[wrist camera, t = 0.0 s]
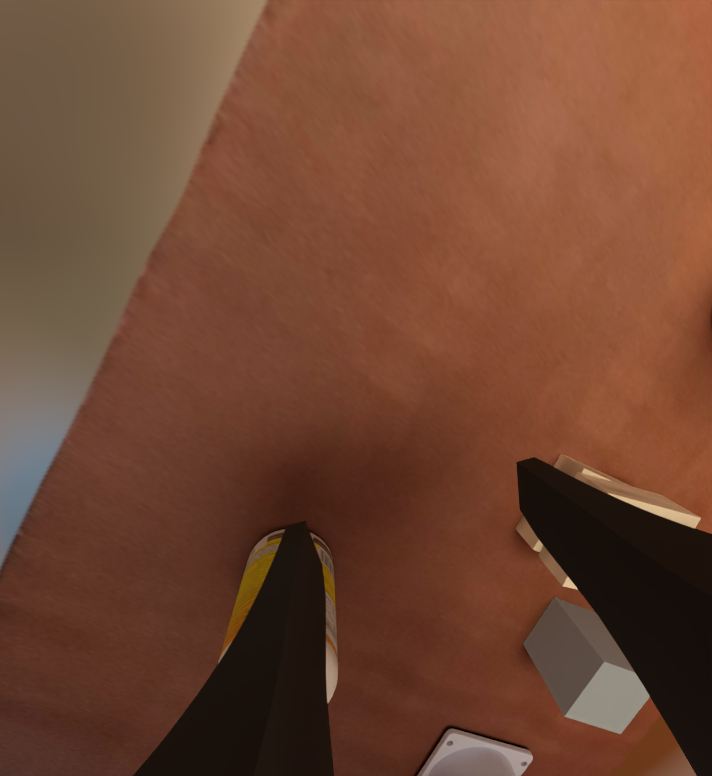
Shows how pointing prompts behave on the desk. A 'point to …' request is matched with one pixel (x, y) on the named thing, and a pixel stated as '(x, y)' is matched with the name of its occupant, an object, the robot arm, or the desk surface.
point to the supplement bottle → (253, 582)
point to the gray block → (585, 667)
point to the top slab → (632, 496)
